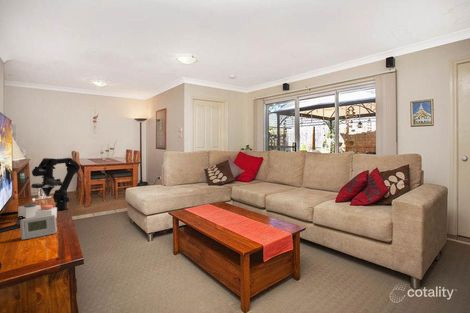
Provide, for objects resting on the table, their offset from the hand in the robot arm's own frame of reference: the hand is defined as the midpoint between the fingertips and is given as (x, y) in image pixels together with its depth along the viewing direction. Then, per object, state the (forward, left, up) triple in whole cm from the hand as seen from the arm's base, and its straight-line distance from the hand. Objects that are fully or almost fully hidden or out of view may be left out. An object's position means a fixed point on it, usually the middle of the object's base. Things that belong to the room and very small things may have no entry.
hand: (47, 196), depth 181 cm
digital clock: (+32, +41, -13) cm, 54 cm away
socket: (+9, -4, -13) cm, 16 cm away
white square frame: (+9, +13, -13) cm, 20 cm away
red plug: (+9, +13, -12) cm, 20 cm away
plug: (+9, -4, -13) cm, 16 cm away
